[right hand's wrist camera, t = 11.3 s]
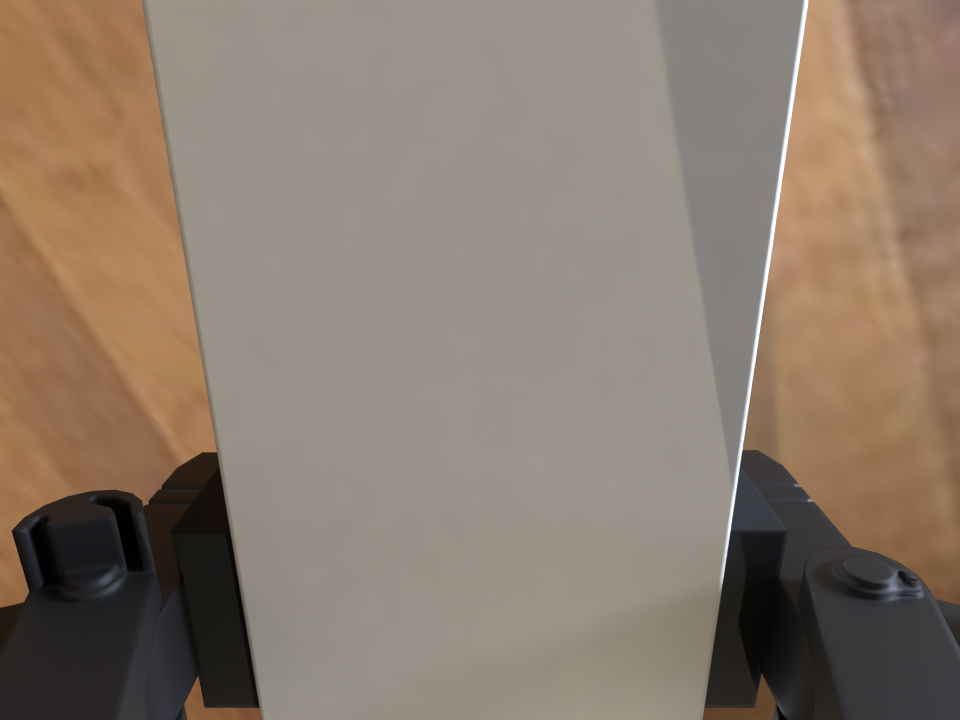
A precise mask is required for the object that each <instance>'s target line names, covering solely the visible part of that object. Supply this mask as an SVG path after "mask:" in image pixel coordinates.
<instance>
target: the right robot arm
mask: <svg viewBox="0 0 960 720" xmlns="http://www.w3.org/2000/svg"><path fill="white" fill-rule="evenodd" d="M12 534H13V537H14V541H15V544H16V547H17V551H18V554H19V558H20V561H21V564H22V568H23V571H24V575H25V578H26V582H27V585H28V588H29V594H28V596H27V598H26V600H25V602H23V603H19V604H16V605H11V606H6V607H2V608H0V720H187V716H186V711H185V707H184V703H185V701H186V699H187V697H188V695H189V693H190V691H191V689H192V687H193V685H194V683H195V681H196V679H197V677H198V675H199V680H200V686H201V691H202V696H203V701H204V706H205V708H260V706H259V700H258V694H257V688H256V682H255V676H254V670H253V664H252V658H251V652H250V646H249V640H248V634H247V628H246V622H245V616H244V610H243V604H242V598H241V592H240V586H239V580H238V574H237V568H236V562H235V556H234V550H233V544H232V538H231V532H230V526H229V520H228V514H227V508H226V502H225V496H224V490H223V484H222V478H221V472H220V466H219V460H218V454H217V452H202V453H201V454H199V455H198V456H196V457H194V458H193V459H191V460H189V461H188V462H186V463H184V464H183V465H181V466H179V467H178V468H177V469H176V470H175V471H174V472H173V473H172V474H171V476H170V477H169V478H168V479H167V480H166V481H165V483H164V484H163V485H162V489H159V490H158V491H157V492H156V493H155V494H154V496H153V497H152V498H151V499H150V500H149V505H145V506H144V507H143V504H142V500H140V499H139V498H138V497H136V496H135V495H134V494H132V493H128V492H123V491H118V490H102V491H90V492H86V493H81V494H76V495H72V496H68V497H65V498H63V499H60V500H57V501H55V502H52V503H50V504H47V505H44V506H43V507H41V508H39V509H38V510H36V511H34V512H33V513H31V514H29V515H28V516H26V517H24V518H23V520H22V521H21V522H20V523H19V524H18V525H17V526H16V527H15V528H14V529H13V530H12ZM761 672H762V674H763V676H764V678H765V680H766V682H767V684H768V686H769V688H770V690H771V692H772V694H773V696H774V698H775V700H776V707H775V711H774V716H773V720H960V605H959V604H954V603H949V602H945V601H941V600H937V599H935V598H934V596H933V594H932V592H931V591H930V589H929V588H928V587H927V586H926V584H925V583H924V582H923V581H922V580H921V578H920V577H919V576H918V575H916V574H915V573H914V572H912V571H911V570H909V569H908V568H906V567H905V566H904V565H902V564H901V563H899V562H897V561H894V560H892V559H890V558H888V557H885V556H883V555H881V554H879V553H876V552H872V551H868V550H864V549H860V548H856V547H852V546H851V544H850V543H849V542H848V541H847V540H846V539H845V538H844V536H843V535H842V534H841V533H840V532H839V531H838V529H837V528H836V527H835V526H834V525H833V524H832V522H831V521H830V520H829V519H828V518H827V517H826V515H825V514H824V513H823V512H822V511H821V510H820V508H819V507H818V506H817V505H816V504H815V503H814V502H811V498H810V497H809V496H808V494H807V493H806V492H805V491H804V490H803V489H802V487H798V483H797V482H796V480H795V479H794V478H793V477H792V476H791V475H790V473H789V472H788V471H787V470H786V469H785V468H784V466H783V465H781V464H779V463H778V462H776V461H774V460H773V459H771V458H769V457H768V456H766V455H764V454H763V453H761V452H759V451H758V450H742V455H741V462H740V468H739V475H738V482H737V489H736V496H735V502H734V509H733V516H732V523H731V530H730V536H729V543H728V550H727V557H726V564H725V570H724V577H723V584H722V591H721V598H720V604H719V611H718V618H717V625H716V632H715V638H714V645H713V652H712V659H711V666H710V673H709V679H708V686H707V693H706V700H705V707H704V708H755V704H756V698H757V693H758V688H759V683H760V678H761Z"/></svg>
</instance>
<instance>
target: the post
mask: <svg viewBox="0 0 960 720" xmlns="http://www.w3.org/2000/svg"><path fill="white" fill-rule="evenodd" d="M142 4H143V10H144V16H145V22H146V28H147V34H148V40H149V46H150V52H151V58H152V64H153V70H154V76H155V82H156V88H157V94H158V100H159V106H160V112H161V118H162V124H163V130H164V136H165V142H166V148H167V154H168V160H169V166H170V172H171V178H172V184H173V190H174V196H175V202H176V208H177V214H178V220H179V226H180V232H181V238H182V244H183V250H184V256H185V262H186V268H187V274H188V280H189V286H190V292H191V298H192V304H193V310H194V316H195V322H196V328H197V334H198V340H199V346H200V352H201V358H202V364H203V370H204V376H205V382H206V388H207V394H208V400H209V406H210V412H211V418H212V424H213V430H214V436H215V442H216V448H217V454H218V460H219V466H220V472H221V478H222V484H223V490H224V496H225V502H226V508H227V514H228V520H229V526H230V532H231V538H232V544H233V550H234V556H235V562H236V568H237V574H238V580H239V586H240V592H241V598H242V604H243V610H244V616H245V622H246V628H247V634H248V640H249V646H250V652H251V658H252V664H253V670H254V676H255V682H256V688H257V694H258V700H259V706H260V712H261V718H262V720H703V713H704V707H705V700H706V693H707V686H708V679H709V673H710V666H711V659H712V652H713V645H714V638H715V632H716V625H717V618H718V611H719V604H720V598H721V591H722V584H723V577H724V570H725V564H726V557H727V550H728V543H729V536H730V530H731V523H732V516H733V509H734V502H735V496H736V489H737V482H738V475H739V468H740V462H741V455H742V448H743V441H744V434H745V427H746V421H747V414H748V407H749V400H750V393H751V387H752V380H753V373H754V366H755V359H756V353H757V346H758V339H759V332H760V325H761V319H762V312H763V305H764V298H765V291H766V285H767V278H768V271H769V264H770V257H771V251H772V244H773V237H774V230H775V223H776V216H777V210H778V203H779V196H780V189H781V182H782V176H783V169H784V162H785V155H786V148H787V142H788V135H789V128H790V121H791V114H792V108H793V101H794V94H795V87H796V80H797V74H798V67H799V60H800V53H801V46H802V40H803V33H804V26H805V19H806V12H807V5H808V0H142Z"/></svg>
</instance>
